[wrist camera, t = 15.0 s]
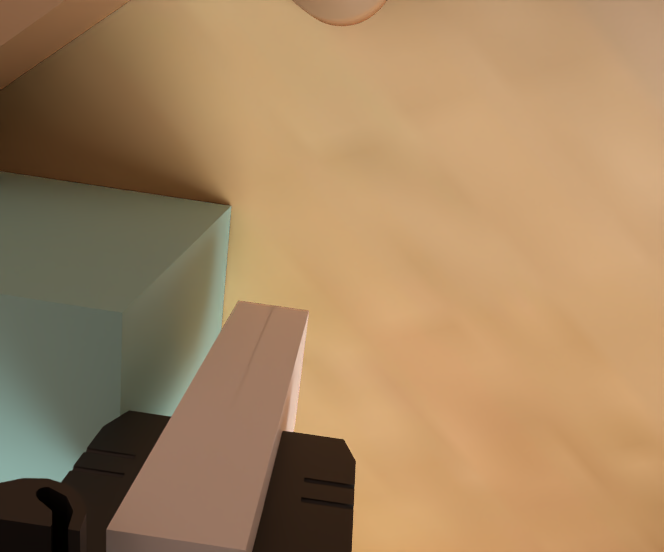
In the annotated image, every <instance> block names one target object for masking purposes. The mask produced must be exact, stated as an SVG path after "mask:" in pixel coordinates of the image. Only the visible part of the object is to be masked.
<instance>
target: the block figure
mask: <svg viewBox="0 0 664 552" xmlns="http://www.w3.org/2000/svg"><path fill="white" fill-rule="evenodd" d="M129 1H130V0H0V90H1V89H3V88H4V87H6V86H7V85H8V84H10V83H11V82H13V81H14V80H16V79H17V78H19V77H20V76H21V75H23V74H24V73H26V72H27V71H29V70H30V69H32V68H33V67H35V66H36V65H37V64H39V63H40V62H42V61H43V60H45V59H46V58H48V57H49V56H50V55H52V54H53V53H55V52H56V51H58V50H59V49H61V48H62V47H63V46H65V45H66V44H68V43H69V42H71V41H72V40H74V39H75V38H77V37H78V36H79V35H81V34H82V33H84V32H85V31H87V30H88V29H90V28H91V27H92V26H94V25H95V24H97V23H98V22H100V21H101V20H103V19H104V18H105V17H107V16H108V15H110V14H111V13H113V12H114V11H116V10H117V9H119V8H120V7H121V6H123V5H124V4H126V3H127V2H129ZM293 1H294V2H295V3H296V4H297V5H298V6H300V7H301V8H302V9H304V10H305V11H306V12H307V13H309V14H310V15H311V16H313V17H314V18H316V19H318V20H319V21H321V22H324V23H327V24H330V25H335V26H349V25H354V24H357V23H360V22H363V21H364V20H366V19H368V18H370V17H371V16H373V15H374V14H375V13H376V12H377V11H378V10H379V9H380V8H381V7H382V6H383V5H384V4H385V2H386V1H387V0H293Z"/></svg>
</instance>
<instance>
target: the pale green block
mask: <svg viewBox="0 0 664 552" xmlns="http://www.w3.org/2000/svg"><path fill="white" fill-rule="evenodd" d="M230 217H231V206H229V205H223V204H216V203H209V202H203V201H196V200H189V199H183V198H176V197H169V196H162V195H156V194H149V193H142V192H136V191H129V190H122V189H116V188H109V187H102V186H96V185H89V184H82V183H76V182H69V181H62V180H56V179H49V178H42V177H36V176H29V175H22V174H15V173H9V172H2V171H0V483H1V482H6V481H11V480H16V479H20V478H48V479H51V480H55V481H58V482H62V480H63V479H64V478H65V476H66V475H67V474H68V472H69V471H72V470H73V466H74V464H75V463H76V462H77V460H78V459H79V458H80V456H81V455H82V454H83V452H86V450H87V447H88V446H89V444H90V443H91V442H92V440H93V439H94V438H95V436H96V435H97V434H98V432H99V431H100V430H101V428H102V427H103V426H104V425H106V424H108V423H109V422H111V421H113V420H114V419H116V418H117V417H119V416H121V415H122V414H124V413H126V412H127V411H129V410H130V411H137V412H144V413H150V414H157V415H164V416H172V415H173V413H174V411H175V409H176V408H177V406H178V404H179V403H180V401H181V399H182V397H183V396H184V394H185V392H186V390H187V389H188V387H189V385H190V383H191V382H192V380H193V378H194V377H195V375H196V373H197V371H198V370H199V368H200V366H201V364H202V363H203V361H204V359H205V358H206V356H207V354H208V352H209V351H210V349H211V347H212V345H213V344H214V342H215V340H216V339H217V337H218V335H219V333H220V332H221V327H222V315H223V302H224V290H225V278H226V266H227V254H228V241H229V229H230Z"/></svg>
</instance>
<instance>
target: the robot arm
mask: <svg viewBox="0 0 664 552" xmlns="http://www.w3.org/2000/svg"><path fill="white" fill-rule="evenodd" d="M308 315H309V311H308V310H301V309H294V308H287V307H280V306H273V305H266V304H259V303H252V302H245V301H238V302H237V304H236V306H235V307H234V309H233V311H232V313H231V314H230V316H229V318H228V319H227V321H226V323H225V325H224V326H223V328H222V330H221V332H220V333H219V335H218V337H217V339H216V340H215V342H214V344H213V345H212V347H211V349H210V351H209V352H208V354H207V356H206V358H205V359H204V361H203V363H202V364H201V366H200V368H199V370H198V371H197V373H196V375H195V377H194V378H193V380H192V382H191V383H190V385H189V387H188V389H187V390H186V392H185V394H184V396H183V397H182V399H181V401H180V403H179V404H178V406H177V408H176V409H175V411H174V413H173V415H172V416H164V415H157V414H150V413H144V412H137V411H130V410H129V411H127V412H126V413H124V414H122V415H121V416H119V417H117V418H116V419H114V420H113V421H111V422H109V423H108V424H106V425H104V426H103V427H102V428H101V430H100V431H99V432H98V434H97V435H96V436H95V438H94V439H93V440H92V442H91V443H90V444H89V446H88V447H87V450H86V452H83V454H82V455H81V456H80V458H79V459H78V460H77V462H76V463H75V464H74V466H73V470H72V471H69V472H68V474H67V475H66V476H65V478H64V479H63V480H62V482H58V481H55V480H51V479H48V478H20V479H16V480H11V481H6V482H1V483H0V552H351V551H352V530H353V506H354V485H355V464H356V461H355V459H354V457H353V456H352V454H351V452H350V450H349V448H348V446H347V445H346V443H345V441H344V440H343V439H336V438H330V437H323V436H316V435H309V434H302V433H295V432H293V431H294V426H295V420H296V412H297V404H298V396H299V388H300V380H301V371H302V363H303V355H304V347H305V339H306V331H307V323H308Z"/></svg>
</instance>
